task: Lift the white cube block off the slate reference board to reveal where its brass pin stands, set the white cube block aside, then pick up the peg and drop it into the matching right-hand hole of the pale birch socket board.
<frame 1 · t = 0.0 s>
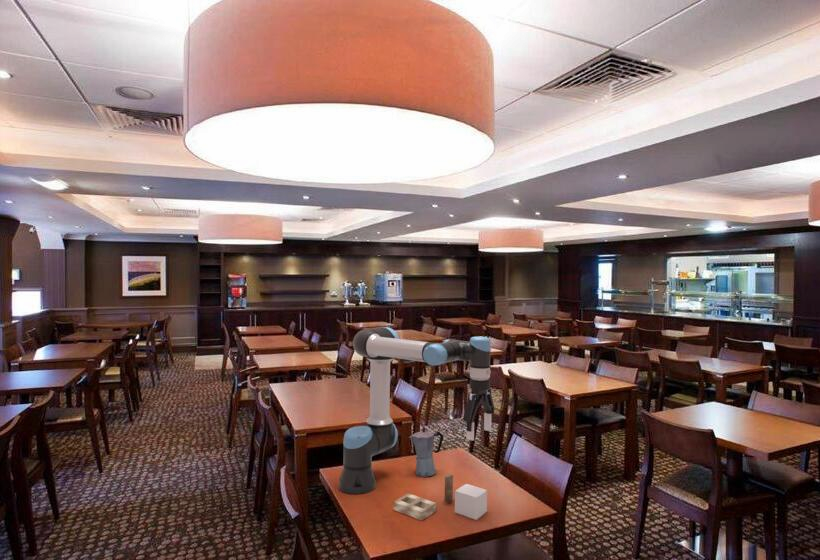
hand: (479, 435, 180), 28 cm above the table, fingers open, 13 cm apart
socket board: (414, 510, 179), on the table
moka pot: (426, 473, 214), on the table
reference board: (470, 511, 179), on the table
peg: (448, 501, 187), on the table
white cube block: (470, 511, 179), on the table
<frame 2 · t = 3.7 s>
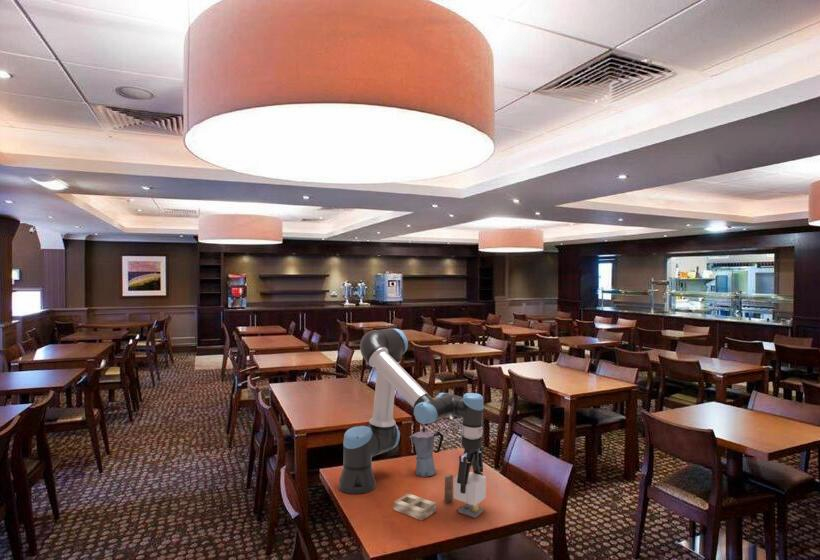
hand: (469, 496, 179), 5 cm above the table, fingers closed on white cube block, 8 cm apart
white cube block: (469, 498, 179), point 5 cm above the table, touching gripper
everything else where it was.
when the fingers open (2 cm above the table, at t = 7.8 s): white cube block drops 1 cm, on the table.
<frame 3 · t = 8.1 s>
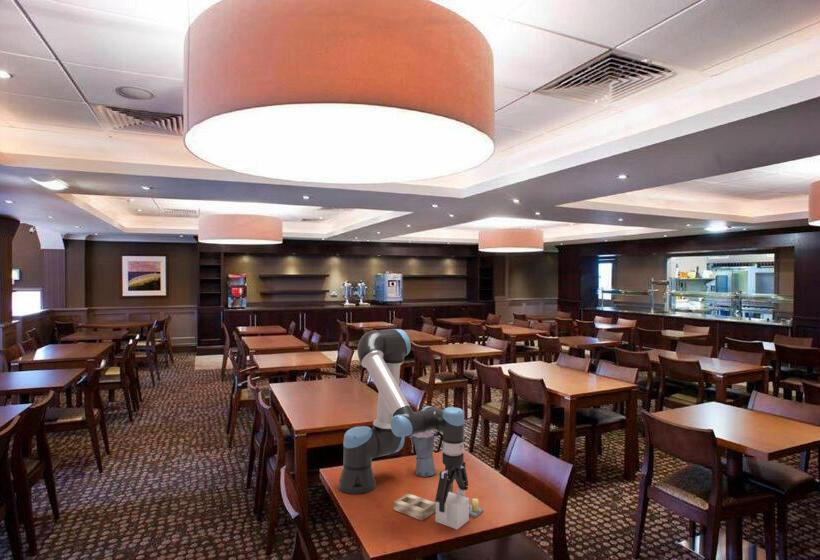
hand: (452, 513, 172), 3 cm above the table, fingers open, 11 cm apart
white cube block: (452, 520, 172), on the table
everything else where it was.
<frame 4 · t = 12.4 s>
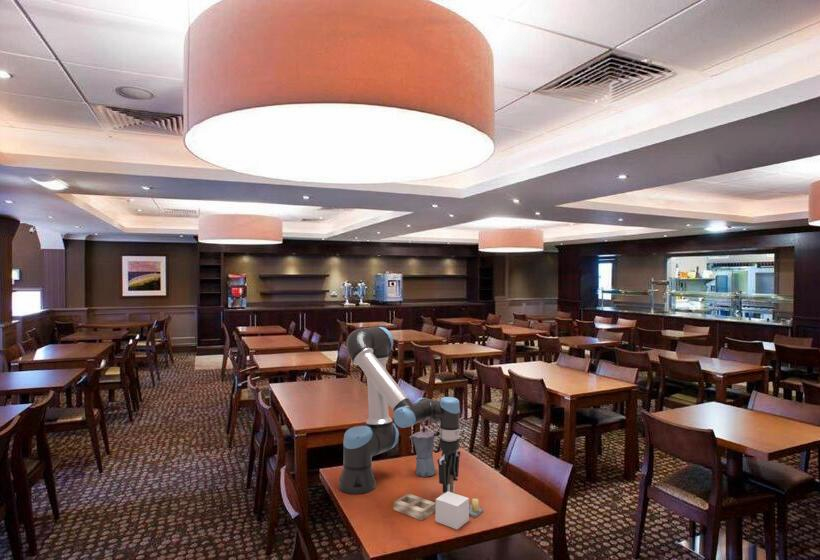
hand: (448, 498, 187), 1 cm above the table, fingers closed on peg, 3 cm apart
peg: (448, 501, 187), on the table, touching gripper
everything else where it was.
when the fingers open (5 cm above the table, at t = 16.2 s): peg drops 2 cm, resting in socket board.
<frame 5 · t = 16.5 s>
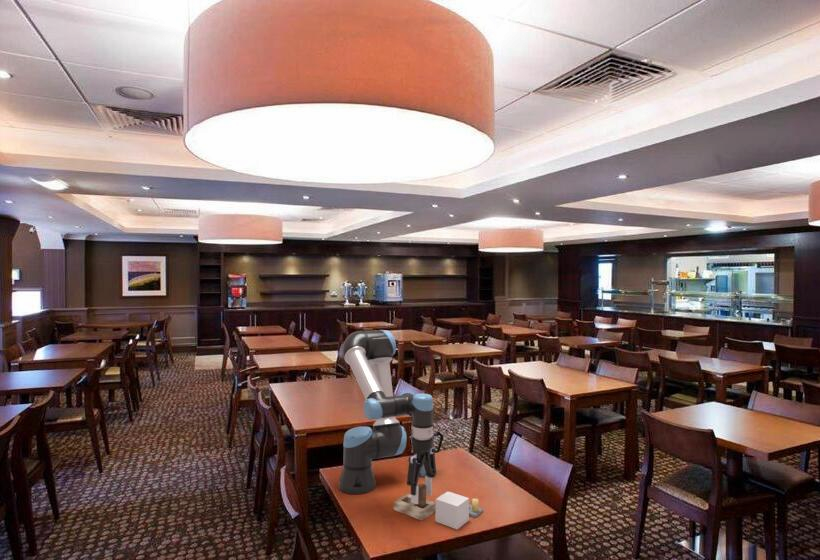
hand: (421, 498, 177), 5 cm above the table, fingers open, 8 cm apart
peg: (421, 512, 177), resting in socket board
everything else where it was.
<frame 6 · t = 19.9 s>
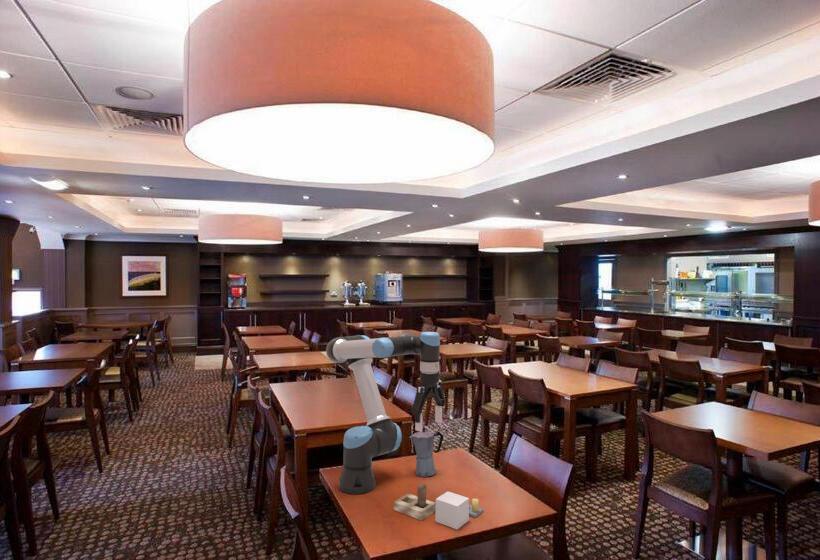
hand: (428, 426, 188), 29 cm above the table, fingers open, 13 cm apart
nothing on the table moved.
at the end: peg 0.1 cm from the target spot on the socket board, point 0.0 cm above the socket board's base; peg tilted 0°; white cube block moved 10.2 cm from its start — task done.
